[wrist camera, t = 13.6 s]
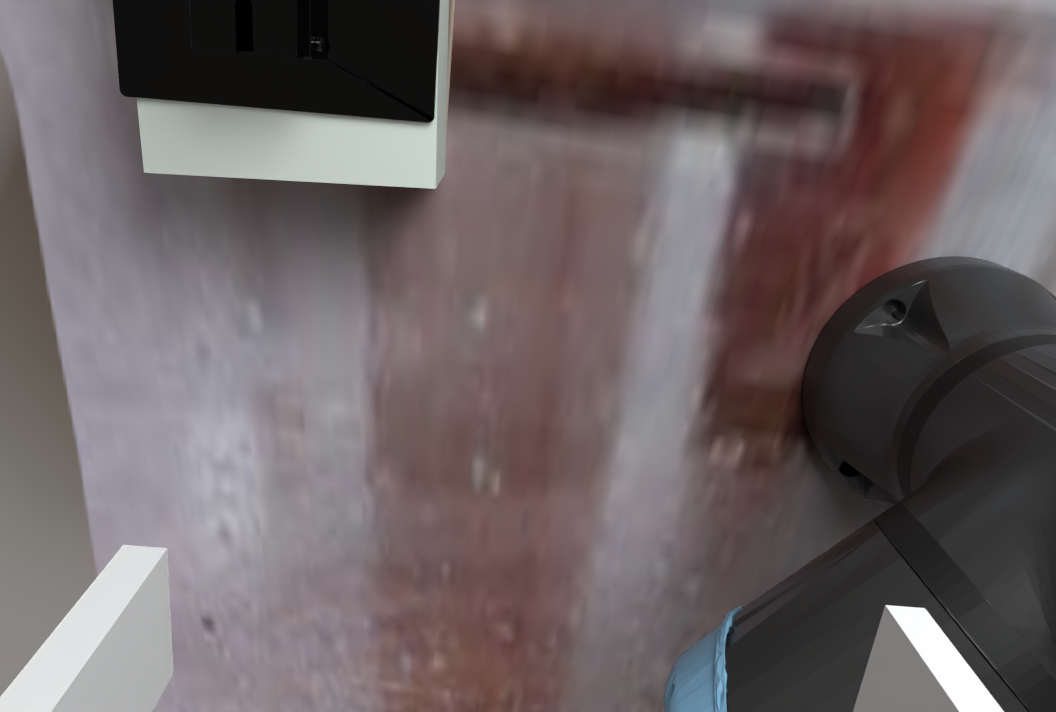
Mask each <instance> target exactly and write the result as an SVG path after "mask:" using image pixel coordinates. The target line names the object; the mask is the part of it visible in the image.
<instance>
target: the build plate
mask: <svg viewBox="0 0 1056 712" xmlns="http://www.w3.org/2000/svg"><path fill="white" fill-rule="evenodd" d="M113 9H114V22H115V34H116V47H117V60H118V73H119V85H120V92H121V93H122V94H123V95H124V96H127V97H137V98H149V99H160V100H172V101H183V102H195V103H207V104H218V105H230V106H241V107H253V108H264V109H276V110H287V111H299V112H310V113H322V114H333V115H345V116H357V117H368V118H380V119H391V120H403V121H414V122H426V123H429V122H432V121H433V120H434V118H435V102H436V80H437V58H438V35H439V14H440V0H113Z"/></svg>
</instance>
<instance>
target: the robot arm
mask: <svg viewBox="0 0 1056 712" xmlns="http://www.w3.org/2000/svg"><path fill="white" fill-rule="evenodd" d="M803 411H804V417H805V422H806V426H807V429H808V432H809V434H810V437H811V439H812V441H813V443H814V445H815V447H816V448H817V450H818V452H819V453H820V455H821V456H822V457H823V458H824V460H825V461H826V462H827V463H828V465H829V466H830V467H831V468H832V470H833V471H834V472H835V473H836V475H837V476H838V477H839V478H840V479H841V480H842V481H843V482H844V483H845V484H846V485H847V486H849V487H850V488H851V489H853V490H854V491H855V492H856V493H858V494H859V495H861V496H863V497H864V498H866V499H868V500H870V501H871V502H873V503H876V504H878V505H880V506H883V507H885V508H887V509H888V510H886V511H885V512H883V513H882V514H880V515H879V516H877V517H876V518H874V520H873V519H872V520H871V521H870V522H868V523H867V524H865V525H864V526H862V527H861V528H859V529H858V530H857V531H855V532H854V533H852V534H851V535H849V536H848V537H846V538H845V539H843V540H842V541H840V542H839V543H838V544H836V545H835V546H833V547H832V548H830V549H829V550H827V551H826V552H824V553H823V554H822V555H820V556H819V557H817V558H816V559H814V560H813V561H811V562H810V563H808V564H807V565H805V566H804V567H803V568H801V569H800V570H798V571H797V572H795V573H794V574H792V575H791V576H789V577H788V578H787V579H785V580H784V581H782V582H781V583H779V584H778V585H776V586H775V587H773V588H772V589H770V590H769V591H768V592H766V593H765V594H763V595H762V596H760V597H759V598H757V599H756V600H754V601H753V602H752V603H750V604H749V605H747V606H746V607H741V606H739V607H737V608H735V609H733V610H731V611H730V612H729V613H728V614H727V615H726V616H725V618H724V620H723V622H722V624H721V625H719V626H718V627H717V628H715V629H714V630H713V631H712V632H710V633H709V634H708V635H706V636H705V637H704V638H703V639H701V640H700V641H699V642H697V643H696V644H695V645H693V646H692V647H691V648H690V649H688V650H687V651H686V652H685V653H683V654H682V655H681V656H680V657H679V659H678V660H677V661H676V663H675V664H674V666H673V668H672V670H671V672H670V674H669V676H668V680H667V683H666V690H665V695H664V703H665V712H1056V297H1055V296H1054V295H1053V294H1052V293H1051V292H1049V291H1048V290H1047V289H1046V288H1044V287H1043V286H1042V285H1040V284H1039V283H1037V282H1036V281H1034V280H1032V279H1031V278H1029V277H1027V276H1025V275H1023V274H1020V273H1018V272H1015V271H1013V270H1011V269H1008V268H1006V267H1003V266H1001V265H998V264H996V263H993V262H990V261H986V260H982V259H977V258H970V257H938V258H932V259H926V260H922V261H917V262H914V263H911V264H907V265H905V266H902V267H899V268H897V269H895V270H892V271H890V272H888V273H886V274H884V275H882V276H880V277H879V278H877V279H875V280H874V281H872V282H870V283H869V284H868V285H866V286H865V287H863V288H862V289H861V290H859V291H858V292H857V293H856V294H854V295H853V296H852V297H851V298H850V299H849V300H848V301H847V302H846V303H845V304H844V305H843V306H842V307H841V308H840V309H839V310H838V311H837V312H836V313H835V315H834V316H833V317H832V318H831V320H830V321H829V322H828V324H827V325H826V327H825V328H824V330H823V331H822V333H821V335H820V336H819V338H818V340H817V342H816V344H815V346H814V348H813V350H812V353H811V355H810V358H809V361H808V364H807V368H806V372H805V377H804V383H803ZM173 674H174V673H173V652H172V632H171V611H170V591H169V571H168V550H167V548H157V547H144V546H131V545H123V546H122V547H121V548H120V550H119V551H118V552H117V553H116V555H115V556H114V557H113V558H112V559H111V561H110V562H109V563H108V564H107V566H106V567H105V568H104V569H103V571H102V572H101V573H100V574H99V576H98V577H97V578H96V579H95V581H94V582H93V583H92V584H91V585H90V587H89V588H88V589H87V590H86V592H85V593H84V594H83V595H82V597H81V598H80V599H79V600H78V602H77V603H76V604H75V605H74V607H73V608H72V609H71V610H70V611H69V613H68V614H67V615H66V616H65V618H64V619H63V620H62V622H61V623H60V624H59V625H58V626H57V628H56V629H55V630H54V631H53V632H52V634H51V635H50V636H49V637H48V639H47V640H46V641H45V643H44V644H43V645H42V646H41V647H40V649H39V650H38V651H37V652H36V654H35V655H34V656H33V657H32V658H31V660H30V661H29V662H28V663H27V665H26V666H25V667H24V668H23V670H22V671H21V672H20V673H19V675H18V676H17V677H16V678H15V680H14V681H13V682H12V683H11V684H10V686H9V687H8V688H7V689H6V691H5V692H4V693H3V694H2V696H1V697H0V712H153V710H154V708H155V706H156V704H157V703H158V701H159V699H160V697H161V695H162V694H163V692H164V690H165V688H166V686H167V685H168V683H169V681H170V679H171V677H172V676H173Z"/></svg>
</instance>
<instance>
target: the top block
mask: <svg viewBox="0 0 1056 712" xmlns="http://www.w3.org/2000/svg"><path fill="white" fill-rule="evenodd" d="M448 19H449V0H440V14H439V35H438V58H437V80H436V102H435V118H434V120H433V121H432V122H429V123H426V122H414V121H403V120H391V119H380V118H368V117H357V116H345V115H333V114H322V113H310V112H299V111H287V110H276V109H264V108H253V107H241V106H230V105H218V104H207V103H195V102H183V101H172V100H160V99H149V98H137V97H136V98H137V108H138V118H139V128H140V138H141V148H142V158H143V168H144V173H157V174H175V175H193V176H212V177H230V178H248V179H266V180H284V181H302V182H321V183H339V184H357V185H375V186H393V187H411V188H430V189H436V187H437V186H438V184H439V183H440V181H441V179H442V178H443V176H444V175H445V153H446V108H447V64H448Z"/></svg>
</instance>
